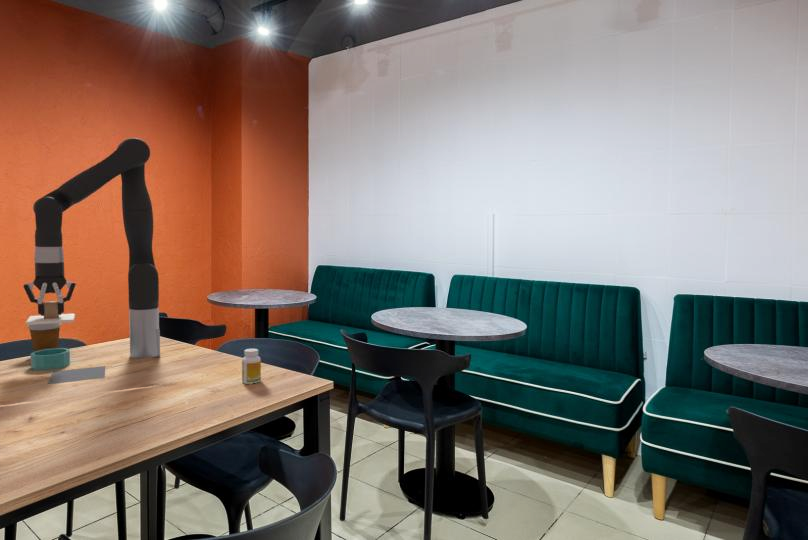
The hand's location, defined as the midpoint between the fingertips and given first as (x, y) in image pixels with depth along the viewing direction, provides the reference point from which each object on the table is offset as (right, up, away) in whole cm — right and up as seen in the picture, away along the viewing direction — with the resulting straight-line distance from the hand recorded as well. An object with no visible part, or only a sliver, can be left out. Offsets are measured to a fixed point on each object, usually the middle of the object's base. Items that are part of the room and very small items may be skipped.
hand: (51, 314), depth 157 cm
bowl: (-2, -17, +3) cm, 17 cm away
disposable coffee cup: (-14, -16, +17) cm, 27 cm away
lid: (0, -2, 0) cm, 2 cm away
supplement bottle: (+66, -20, -8) cm, 69 cm away
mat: (+13, -18, -6) cm, 23 cm away
